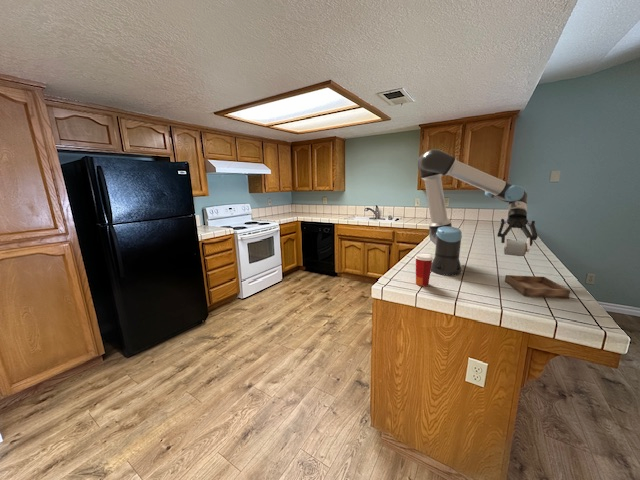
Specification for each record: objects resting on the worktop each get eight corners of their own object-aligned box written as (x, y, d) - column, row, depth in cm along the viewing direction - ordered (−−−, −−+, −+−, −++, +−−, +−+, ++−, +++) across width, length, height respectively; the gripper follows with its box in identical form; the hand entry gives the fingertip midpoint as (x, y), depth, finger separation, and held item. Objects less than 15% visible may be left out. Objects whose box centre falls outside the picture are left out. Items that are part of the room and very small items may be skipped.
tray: (524, 296, 107) (525, 288, 106) (504, 281, 122) (505, 274, 121) (568, 298, 104) (570, 290, 103) (542, 283, 119) (544, 276, 118)
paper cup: (430, 281, 123) (432, 254, 120) (431, 288, 116) (433, 258, 113) (413, 280, 126) (414, 252, 123) (413, 286, 119) (415, 257, 116)
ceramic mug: (525, 258, 120) (528, 242, 118) (504, 255, 124) (507, 240, 122) (522, 253, 129) (524, 238, 127) (502, 251, 133) (504, 236, 131)
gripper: (494, 206, 133) (491, 242, 123) (546, 208, 123) (547, 248, 113) (492, 215, 139) (489, 250, 129) (541, 218, 129) (542, 256, 119)
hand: (516, 249), depth 121 cm, fingers closed on ceramic mug, 8 cm apart
